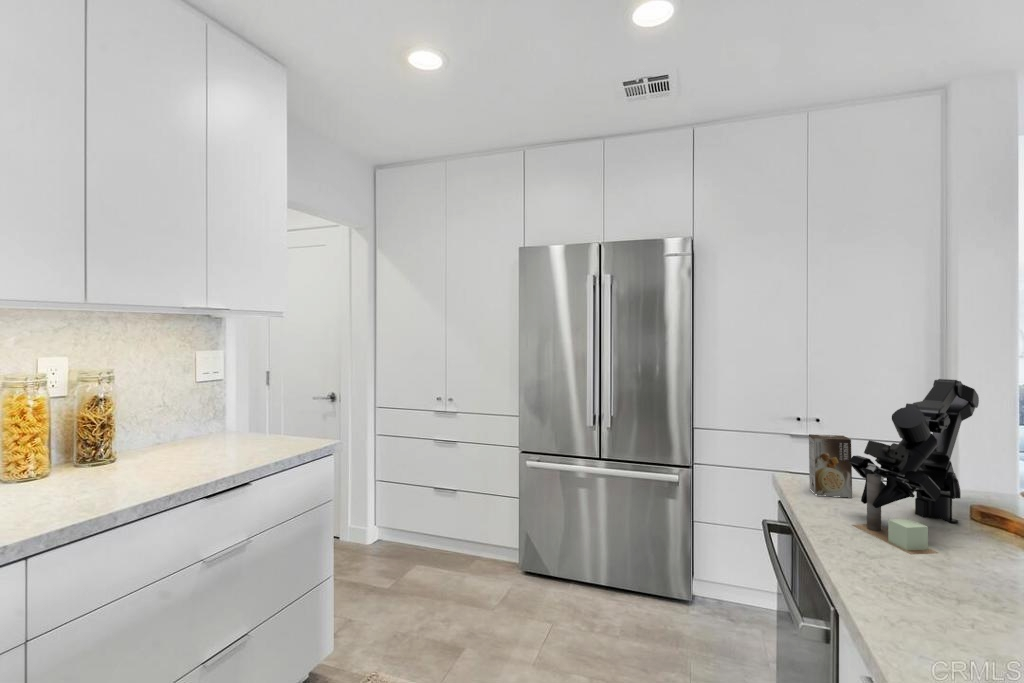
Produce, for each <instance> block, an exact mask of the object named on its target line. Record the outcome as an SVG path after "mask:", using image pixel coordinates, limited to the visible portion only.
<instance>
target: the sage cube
mask: <svg viewBox="0 0 1024 683" xmlns="http://www.w3.org/2000/svg"><path fill="white" fill-rule="evenodd" d="M887 521H888V522H887V523H888V525H887V526H888V528H887V529H888V542H891V543H893V544H895V545H897V546H899V547H901V548H903V549H905V550H928V548H929V526H927V525H925V524H923V523H920V522H919V521H918V522H917V521H915V520H913V519H911V518H893V519H888V520H887Z"/></svg>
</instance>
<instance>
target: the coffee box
mask: <svg viewBox="0 0 1024 683" xmlns="http://www.w3.org/2000/svg"><path fill="white" fill-rule="evenodd" d="M851 458H852V439H850V438H849V437H847V436H845V435H836V434H835V435H834V434H811V433H809V434H808V464H809V465H808V470H809V490H810V489H811V490H812V491H813V492H814V494H817V495H826V496H840V497H839V498H842V497H848V498H847V499H852V498H853V469H852V468H853V467H852V466H851V465H850V464H849V463H848V462H849V460H850V459H851ZM811 490H810V491H811ZM814 494H813V495H814ZM826 496H825V497H826Z"/></svg>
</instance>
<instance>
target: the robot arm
mask: <svg viewBox="0 0 1024 683" xmlns="http://www.w3.org/2000/svg"><path fill="white" fill-rule="evenodd" d="M979 403H980V400H979V394H978V393H977V391H976V390H975V388H973V387H970V386H968V385H965V384H964V383H962V381H961V380H958V379H949V378H947V379H946V378H943V379H942V378H938V379H934V381H933V386H932V388H930V390H929V392H927V394H926V395H925V397H924V398H923V399H922V401H916V402H912V403H906V405H905V407H900V408H898V409H897V410H896V411H895V410H894V412H893V413H892V415H891V421H892V423H893V426H894V428H895V430H896V432H897V433H898V436H899V438H900V439H901V440H900V442H899V443H895V442H893V443H892V444H885V443H882V442H877V441H875V440H874V441H873V440H868V441H867V444H866V446H865V450H864V452H863V454H864V455H867V456H868V455H869V456H871V457H873V458H875V460H874V461H875V462H876V464H877V465H876V464H875V462H874V461H872V460H871V459H870V458H868V457H864V456H861V455H853V456H851V459H850V460H849V462H848V463H849V464H850V465H851V466H852V468H853V469H854V470H855V471H856V473H857V474H858V475H859V476H860V477H861V478H863V479H865V483H864V488H863V490H862V491H863V492H862V496H861V499H860V502H861V503H862V504H865V505H867V474H876V475H880V476H881V492H880V494H879V495H878V496H877V498H876V499H875V501H874V502H873V504H872V505H873V507H874V508H879V507H881V508H882V507H884V506H886V505H889V504H892V503H895V502H898V501H901V500H904V499H907V498H912V499H913V498H915V499H914V500H915V501H914V502H915V505H914V513H915V515H917V516H919V517H922V518H924V519H935V520H941V521H944V522H947V523H949V524H957V523H959V520H958V519H956V518H953V500H954V499H961V494H962V493H961V486H960V483H959V479H958V477H957V475H956V473H955V470H954V468H953V465H952V461H951V458H952V455H953V451H954V448H955V445H956V441H957V437H958V435H959V432H960V427H961V425H962V422H963V421H965V420H967V419H969V418H970V417H972V416H973V415H974V412H975V410H976V409H977V408H978V407H979ZM878 465H880V467H879V466H878ZM884 479H886V483H884V481H885V480H884ZM914 493H916V496H915V494H914Z"/></svg>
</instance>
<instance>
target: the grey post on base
mask: <svg viewBox="0 0 1024 683" xmlns="http://www.w3.org/2000/svg"><path fill="white" fill-rule="evenodd" d="M880 492H881V476H880V475H876V474H867V503H866V523H864V524H863V523H862V524H851V526H852V527H855V528H857V529H859V530H860V531H863V532H865V533H866V534H868V535H871V536H872V537H875V538H877V539H879V540H880V541H883V542H885V543H887V544H889V545H891V546H892V547H895V548H897V549H899V550H901V551H903V552H905V553H906V554H908V555H909V554H910V555H928V554H939V552H937V551H936V550H934V549H932V548H929V547H928V550H905V549H903V548H901V547H899V546H897V545H895V544H893V543H891V542H888V528H887V527H884V526H882V506H881V507H879V508H874V507H873V505H872V504H873V502H874V501H875V499H876V498H877V496H878V495H879V494H880Z"/></svg>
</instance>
